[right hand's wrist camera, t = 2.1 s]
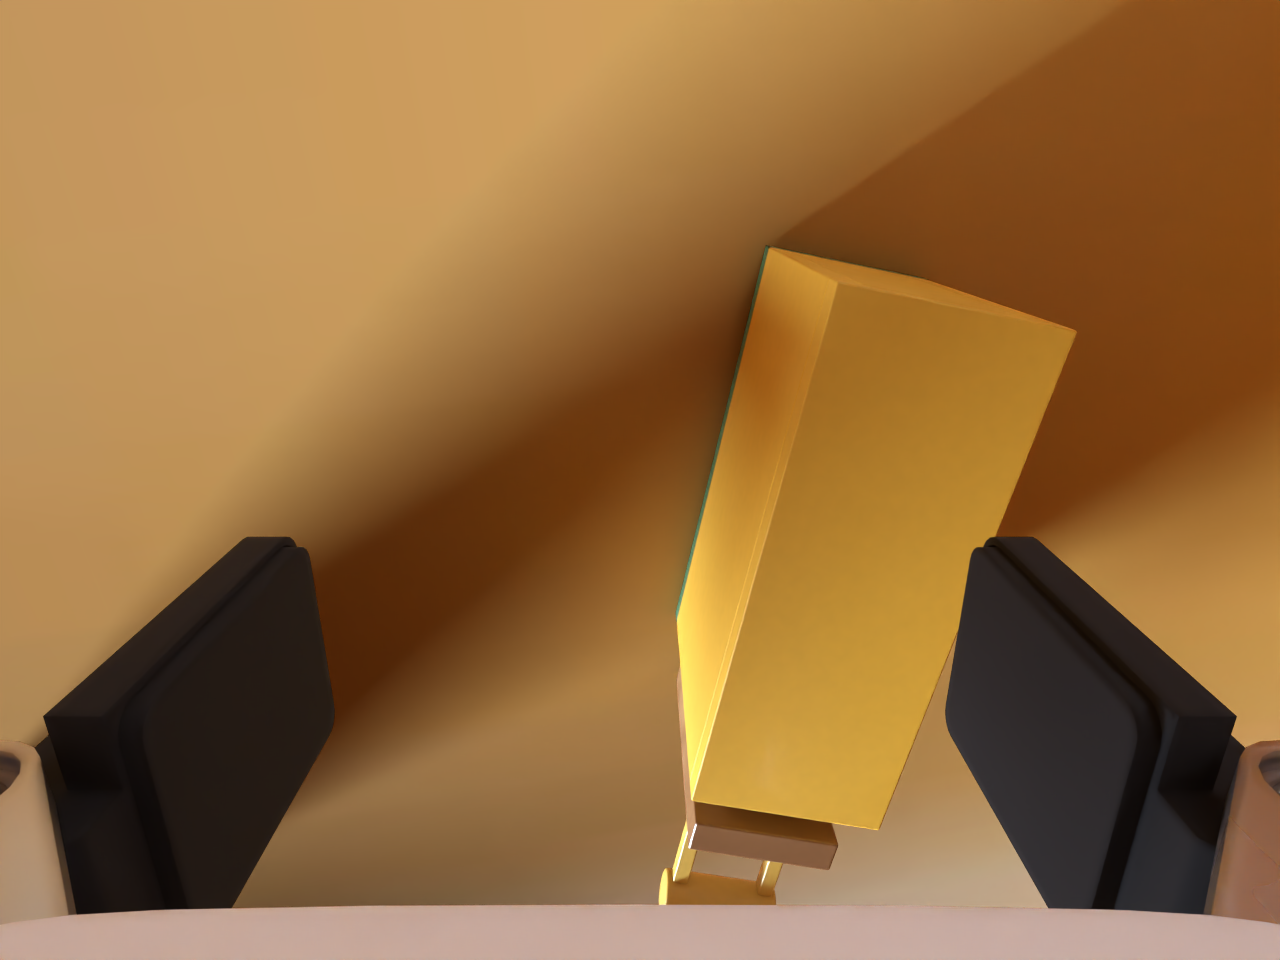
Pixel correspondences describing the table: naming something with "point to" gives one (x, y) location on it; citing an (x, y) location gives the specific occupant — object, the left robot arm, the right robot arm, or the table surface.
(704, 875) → the drawer
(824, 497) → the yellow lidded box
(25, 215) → the table surface
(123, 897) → the right robot arm
